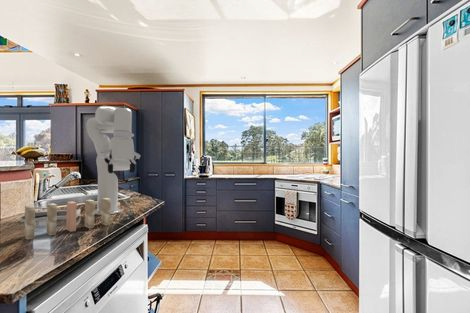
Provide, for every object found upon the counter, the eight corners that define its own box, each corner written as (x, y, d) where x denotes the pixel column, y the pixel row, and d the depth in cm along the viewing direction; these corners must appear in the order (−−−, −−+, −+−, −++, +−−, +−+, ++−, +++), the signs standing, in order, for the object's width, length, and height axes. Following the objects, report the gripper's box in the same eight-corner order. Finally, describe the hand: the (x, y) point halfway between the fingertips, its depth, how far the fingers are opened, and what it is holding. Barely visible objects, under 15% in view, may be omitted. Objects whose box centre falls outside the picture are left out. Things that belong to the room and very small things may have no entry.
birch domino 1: (31, 235, 91) (32, 205, 91) (34, 238, 88) (35, 207, 88) (24, 236, 90) (25, 206, 90) (26, 239, 86) (27, 208, 86)
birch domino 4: (105, 222, 111) (106, 197, 111) (110, 224, 107) (110, 199, 107) (101, 223, 109) (101, 198, 109) (105, 225, 106) (106, 199, 106)
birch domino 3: (89, 225, 106) (90, 199, 106) (94, 227, 102) (94, 200, 103) (84, 226, 104) (85, 200, 104) (88, 228, 101) (89, 201, 101)
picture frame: (20, 224, 109) (75, 219, 118) (20, 217, 109) (76, 213, 118) (31, 216, 123) (80, 213, 132) (31, 210, 123) (80, 207, 132)
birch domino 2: (52, 231, 96) (53, 203, 96) (56, 234, 93) (57, 204, 93) (46, 232, 94) (47, 203, 95) (49, 235, 91) (50, 205, 91)
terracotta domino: (72, 228, 101) (72, 201, 101) (76, 230, 98) (76, 202, 98) (66, 229, 99) (67, 201, 100) (70, 231, 96) (70, 203, 96)
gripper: (136, 137, 122) (136, 171, 122) (99, 134, 110) (98, 173, 110) (144, 136, 117) (143, 172, 117) (105, 133, 105) (104, 173, 104)
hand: (121, 172), depth 113 cm, fingers open, 9 cm apart
